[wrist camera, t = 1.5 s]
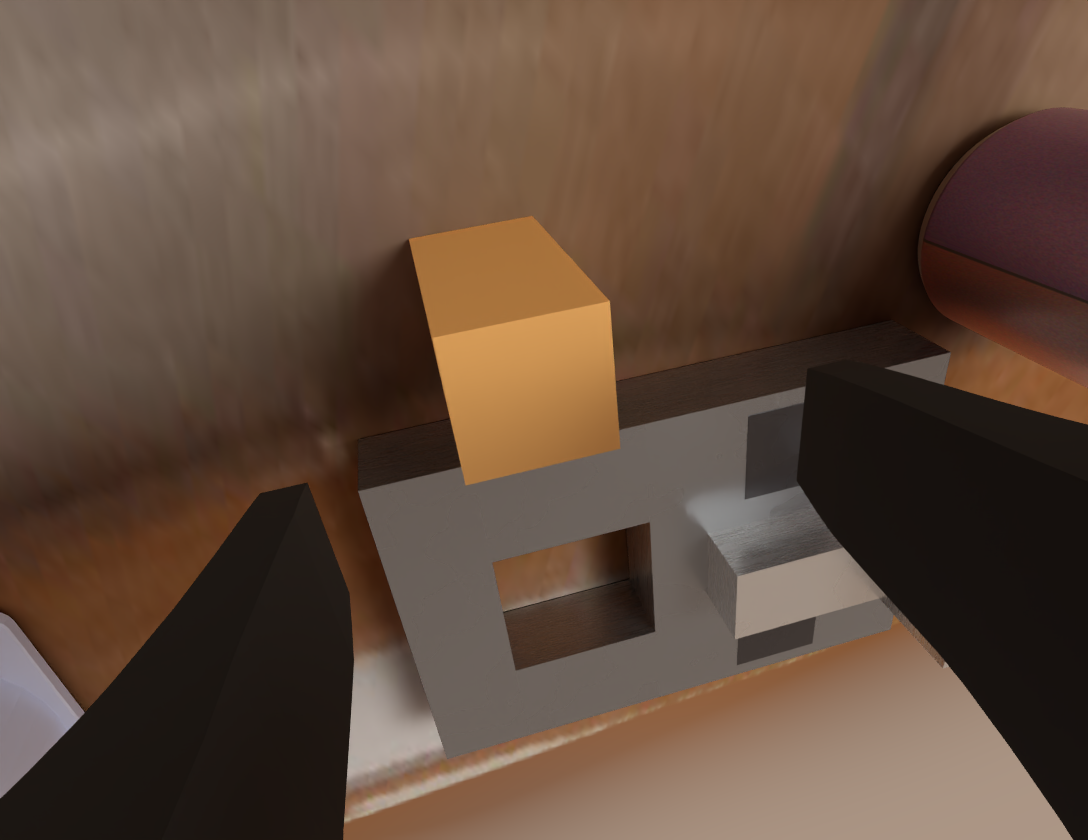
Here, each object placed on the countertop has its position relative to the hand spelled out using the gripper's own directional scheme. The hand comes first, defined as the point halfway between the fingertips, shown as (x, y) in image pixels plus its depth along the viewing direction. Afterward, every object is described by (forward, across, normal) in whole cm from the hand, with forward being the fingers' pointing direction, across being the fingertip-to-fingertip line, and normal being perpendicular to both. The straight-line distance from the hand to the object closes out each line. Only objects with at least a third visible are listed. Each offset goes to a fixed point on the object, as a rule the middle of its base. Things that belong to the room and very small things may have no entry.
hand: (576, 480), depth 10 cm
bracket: (+6, -8, +9) cm, 14 cm away
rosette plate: (+9, -4, +9) cm, 13 cm away
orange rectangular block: (+9, 0, 0) cm, 9 cm away
